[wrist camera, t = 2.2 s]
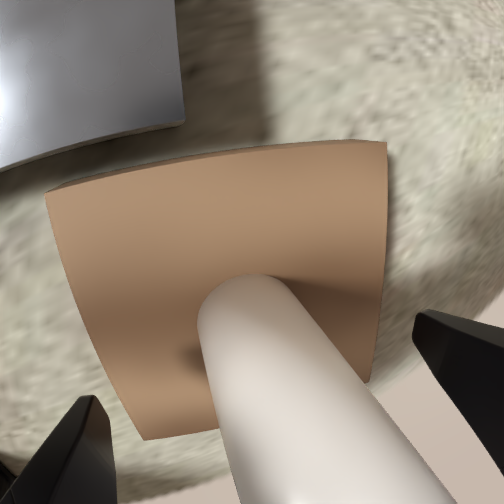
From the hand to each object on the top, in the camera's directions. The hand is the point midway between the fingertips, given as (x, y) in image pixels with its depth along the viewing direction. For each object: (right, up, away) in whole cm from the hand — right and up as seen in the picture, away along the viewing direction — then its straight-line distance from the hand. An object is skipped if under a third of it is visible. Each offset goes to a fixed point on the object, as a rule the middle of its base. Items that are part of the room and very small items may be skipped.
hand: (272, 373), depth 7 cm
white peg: (-1, +1, +2) cm, 2 cm away
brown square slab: (-1, +2, +4) cm, 4 cm away
